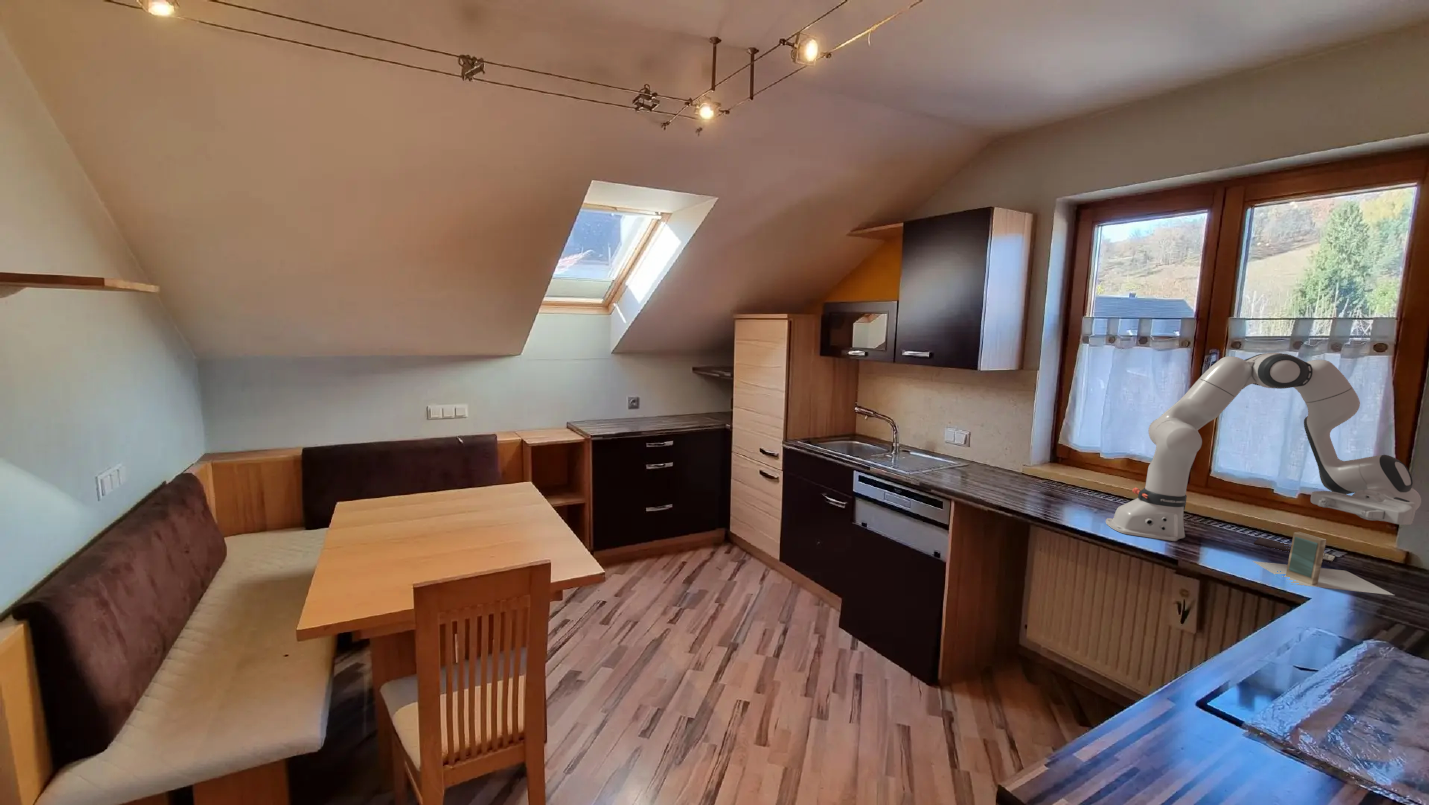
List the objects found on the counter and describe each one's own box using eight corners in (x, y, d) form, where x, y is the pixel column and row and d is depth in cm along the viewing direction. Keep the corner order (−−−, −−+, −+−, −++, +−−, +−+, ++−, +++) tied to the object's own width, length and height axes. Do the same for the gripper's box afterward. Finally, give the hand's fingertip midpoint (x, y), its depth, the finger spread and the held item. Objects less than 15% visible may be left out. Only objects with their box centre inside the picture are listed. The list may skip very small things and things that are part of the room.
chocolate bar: (1260, 537, 202) (1335, 555, 188) (1259, 539, 202) (1335, 558, 188) (1253, 542, 197) (1331, 561, 183) (1253, 545, 197) (1330, 564, 183)
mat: (1290, 585, 166) (1291, 584, 165) (1251, 562, 181) (1252, 561, 181) (1394, 596, 161) (1394, 595, 161) (1345, 572, 176) (1345, 570, 176)
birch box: (1291, 575, 172) (1299, 531, 170) (1317, 584, 166) (1326, 539, 164) (1285, 576, 171) (1293, 532, 169) (1311, 585, 165) (1320, 540, 163)
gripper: (1328, 484, 183) (1299, 488, 178) (1424, 504, 163) (1393, 509, 159) (1325, 504, 184) (1295, 508, 179) (1419, 526, 164) (1389, 532, 160)
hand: (1342, 509), depth 169 cm, fingers open, 8 cm apart
